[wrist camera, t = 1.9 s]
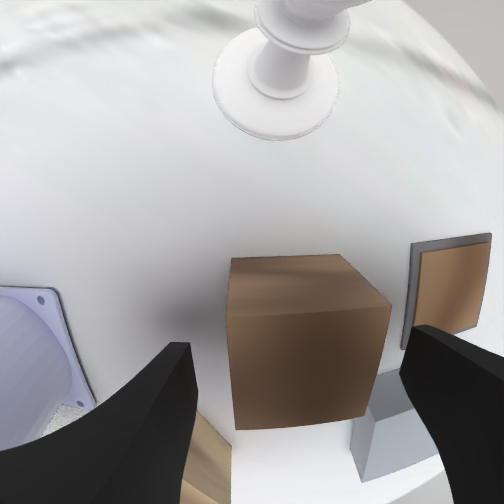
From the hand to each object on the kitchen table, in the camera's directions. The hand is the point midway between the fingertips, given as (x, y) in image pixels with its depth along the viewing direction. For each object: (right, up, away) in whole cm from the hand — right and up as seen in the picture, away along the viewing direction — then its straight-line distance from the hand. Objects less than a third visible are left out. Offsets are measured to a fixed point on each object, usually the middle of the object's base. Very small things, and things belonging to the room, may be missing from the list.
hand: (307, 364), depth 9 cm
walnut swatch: (+9, +1, +4) cm, 10 cm away
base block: (+8, -6, +7) cm, 12 cm away
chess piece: (-1, +10, +2) cm, 10 cm away
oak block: (-6, -8, +6) cm, 12 cm away
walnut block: (0, +1, +4) cm, 4 cm away
